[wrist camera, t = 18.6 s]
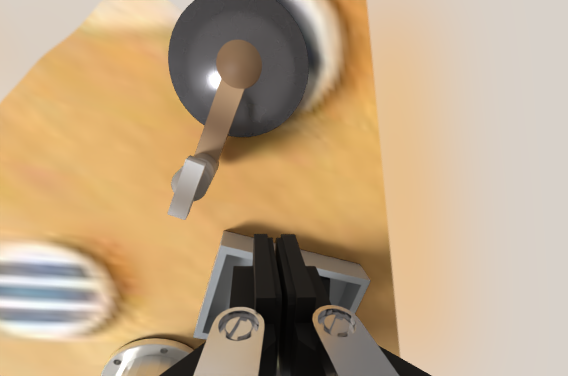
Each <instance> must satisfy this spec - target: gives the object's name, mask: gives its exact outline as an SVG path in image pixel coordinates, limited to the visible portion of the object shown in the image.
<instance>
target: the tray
mask: <svg viewBox="0 0 568 376" xmlns="http://www.w3.org/2000/svg"><path fill="white" fill-rule="evenodd" d="M253 240H254V238H252V237H248V236H244V235H240V234H236V233H232V232H228V231H224V232H223V235H222V239H221V242H220V245H219V249H218V252H217V255H216V259H215V262H214V265H213V269H212V272H211V275H210V279H209V282H208V285H207V289H206V292H205V295H204V299H203V302H202V306H201V309H200V312H199V316H198V320H197V324H196V328H195V332H194V336H193V337H194V338H200V339H206V340H207V338H208V335H209V332H210V330H211V327H212V324H213V322H214V320H215V319H216V317H217V316H218V315H219V314H220V313H222V312H223V311H225V310H227V309H229V304H230V295H231V285H232V275H233V266H252V262H253ZM273 244H274V250H275V244H276V243H273ZM300 251H301V254H302V257H303V260H304V263H305V266H316V268H317V270H318V273H319V275H320V276H324V277H328V278H330V297H329V300H330V302H331V305H335V306H341V307H343V308H346V309H348V310H350V311H351V312H353V313H354V314H355V312H356V310H357V308H358V306H359V304H360V302H361V300H362V298H363V296H364V294H365V292H366V289H367V287H368V285H369V283H370V281H371V280H370V279H369V277H368V276H367V274H366V273H365V271H364V270H363V268H362V267H361V265H360V264H357V263H353V262H349V261H345V260H341V259H337V258H333V257H329V256H325V255H321V254H317V253H312V252H308V251H304V250H300Z"/></svg>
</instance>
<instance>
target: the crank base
mask: <svg viewBox="0 0 568 376" xmlns="http://www.w3.org/2000/svg"><path fill="white" fill-rule="evenodd" d="M232 40H244V41H247V42H249V43H250V44H252V45H253V46H254V47H255V48H256V49H257V51H258V52H259V54H260V57H261V61H262V71H261V74H260V77H259V79H258V81H257V82H256V83H255V84H254V85H253V86H251V87H250V88H247V89H245V90H244V93H243V95H242V98H241V101H240V103H239V106H238V109H237V112H236V114H235V117H234V120H233V122H232V125H231V128H230V130H229V133H228V136H234V137H251V136H257V135H261V134H264V133H266V132H269V131H271V130H273V129H275V128H276V127H278V126H279V125H281V124H282V123H283V122H284V121H286V120H287V119H288V118H289V117H290V115H291V114H292V113H293V112H294V110H295V109H296V108H297V106H298V104H299V103H300V101H301V99H302V96H303V94H304V91H305V88H306V84H307V79H308V67H309V62H308V53H307V48H306V44H305V41H304V38H303V35H302V33H301V31H300V29H299V27H298V25H297V23H296V22H295V20H294V19H293V17H292V16H291V15H290V14H289V12H288V11H287V10H286V9H285V8H284V7H283V6H282V5H281V4H280V3H278V2H277V1H276V0H194V1H193V2H192V3H191V4H190V5H189V6H188V7H187V8H186V9H185V10H184V12H183V13H182V14H181V16H180V18H179V19H178V21H177V22H176V25H175V27H174V29H173V32H172V35H171V39H170V44H169V51H168V63H169V71H170V76H171V80H172V83H173V86H174V88H175V91H176V93H177V95H178V97H179V99H180V101H181V102H182V103H183V105H184V106H185V108H186V109H187V110H188V111H189V112H190V114H191V115H192V116H193V117H194V118H196V119H197V120H198V121H199V122H200V123H202V124H203V125H205V123H206V120H207V117H208V115H209V112H210V109H211V106H212V103H213V100H214V97H215V94H216V91H217V89H218V86H219V83H220V80H221V77H220V75H219V73H218V71H217V66H216V60H217V55H218V52H219V50H220V49H221V47H222V46H223V45H224V44H226V43H227V42H229V41H232Z"/></svg>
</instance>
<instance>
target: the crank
mask: <svg viewBox="0 0 568 376" xmlns="http://www.w3.org/2000/svg"><path fill="white" fill-rule="evenodd" d="M216 66H217V71H218V73H219V75H220V77H221V80H220V83H219V86H218V89H217V91H216V94H215V97H214V100H213V103H212V106H211V109H210V112H209V115H208V117H207V120H206V123H205V126H204V129H203V132H202V135H201V138H200V141H199V143H198V146H197V149H196V152H195V155H194V156H189V157H188V158H187V159H186V161H185V163H184V166H183V167H182V168H181V169H180V170H179V171H178V172H176V173H175V175H174V176H173V178H172V182H171V185H172V189H173V192H174V196H173V199H172V202H171V205H170V208H169V211H168V215H171V216H174V217H177V218H180V219H183V220H186V218H187V216H188V214H189V212H190V209H191V206H192V204H193V201H197V200H199V199H201V198H202V197H203V196H204V195H205V193H206V191H207V189H208V187H209V185H210V183H211V181H212V179H213V177H214V175H215V173H216V171H217V169H218V166H219V161H218V160H219V157H220V155H221V152H222V149H223V147H224V144H225V141H226V139H227V136H228V133H229V130H230V128H231V125H232V122H233V120H234V117H235V114H236V112H237V109H238V106H239V103H240V101H241V98H242V95H243V93H244V90H245V89H247V88H250V87H251V86H253V85H254V84H255V83H256V82H257V81H258V79H259V77H260V74H261V71H262V61H261V57H260V54H259V52H258V51H257V49H256V48H255V47H254V46H253V45H252V44H250V43H249V42H247V41H244V40H232V41H229V42H227V43H226V44H224V45H223V46H222V47H221V49H220V50H219V52H218V55H217V60H216Z"/></svg>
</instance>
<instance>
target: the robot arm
mask: <svg viewBox="0 0 568 376" xmlns="http://www.w3.org/2000/svg"><path fill="white" fill-rule="evenodd" d="M277 360H278V361H279V370H280V376H431V375H429V374H428V373H426V372H424V371H422V370H421V369H419V368H417V367H415V366H414V365H412V364H410V363H408V362H407V361H405V360H403V359H401V358H399V357H398V356H396V355H394V354H392V353H391V352H389V351H387V350H385V349H384V348H382V347H380V346H378V345H377V344H376V342H375V341H374V339H373V338H372V337H371V335H370V334H369V332H368V331H367V329H366V328H365V327H364V325H363V324H362V322H361V321H360V320H359V318H358V317H357V316H356V315H355V314H354V313H353V312H351V311H350V310H348V309H346V308H343V307H341V306H335V305H331V302H330V300H329V297H328V295H327V292H326V290H325V287H324V285H323V283H322V280H321V278H320V275H319V273H318V270H317V268H316V266H305V263H304V260H303V257H302V254H301V251H300V248H299V245H298V242H297V239H296V237H295V235H294V234H281V238H276V244H275V250H274V244H273V238H268V236H267V234H254V240H253V262H252V266H233V275H232V285H231V295H230V304H229V309H227V310H225V311H223V312H222V313H220V314H219V315H218V316H217V317H216V319H215V320H214V322H213V324H212V327H211V330H210V332H209V335H208V338H207V340H206V342H205V343H204V344H202V345H201V346H199V347H198V348H197V349H195V350H193V349H192V348H190V347H188V346H187V345H185V344H182V343H180V342H177V341H173V340H168V339H159V338H153V339H143V340H139V341H135V342H132V343H130V344H127V345H125V346H123V347H122V348H120V349H119V350H117V351H116V352H115V353H114V354H113V355H112V356H111V357H110V358H109V360H108V361H107V363H106V365H105V367H104V369H103V371H102V373H101V376H276V372H277Z"/></svg>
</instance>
